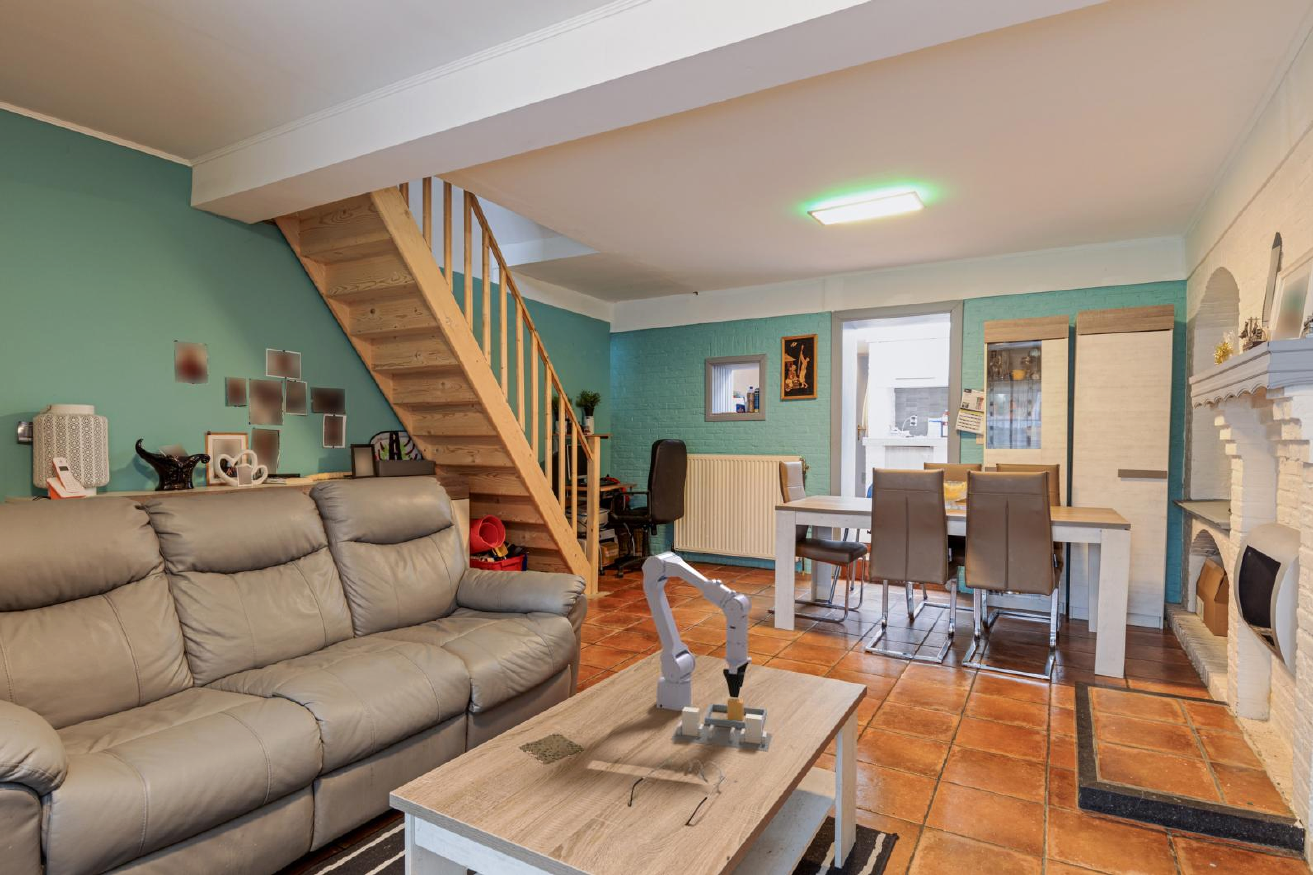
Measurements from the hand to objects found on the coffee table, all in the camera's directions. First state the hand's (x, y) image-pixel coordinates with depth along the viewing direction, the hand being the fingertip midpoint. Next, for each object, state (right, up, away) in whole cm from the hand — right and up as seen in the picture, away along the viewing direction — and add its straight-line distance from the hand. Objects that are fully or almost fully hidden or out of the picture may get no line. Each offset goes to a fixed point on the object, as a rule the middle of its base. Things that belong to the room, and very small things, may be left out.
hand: (736, 691), depth 185 cm
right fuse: (+3, -8, -13) cm, 15 cm away
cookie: (-47, -9, -15) cm, 50 cm away
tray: (0, -9, 0) cm, 9 cm away
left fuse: (-13, -7, -9) cm, 17 cm away
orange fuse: (0, -8, 0) cm, 8 cm away
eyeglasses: (-17, -10, -36) cm, 41 cm away
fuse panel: (-5, -9, -11) cm, 15 cm away
